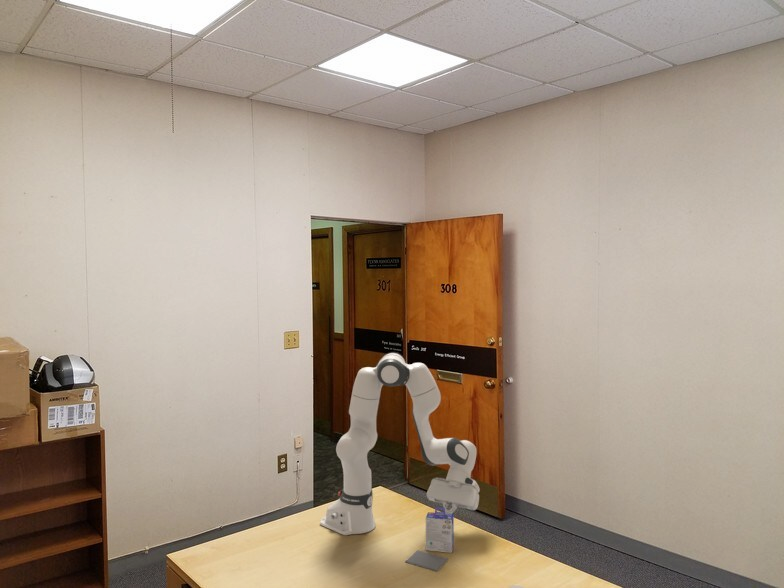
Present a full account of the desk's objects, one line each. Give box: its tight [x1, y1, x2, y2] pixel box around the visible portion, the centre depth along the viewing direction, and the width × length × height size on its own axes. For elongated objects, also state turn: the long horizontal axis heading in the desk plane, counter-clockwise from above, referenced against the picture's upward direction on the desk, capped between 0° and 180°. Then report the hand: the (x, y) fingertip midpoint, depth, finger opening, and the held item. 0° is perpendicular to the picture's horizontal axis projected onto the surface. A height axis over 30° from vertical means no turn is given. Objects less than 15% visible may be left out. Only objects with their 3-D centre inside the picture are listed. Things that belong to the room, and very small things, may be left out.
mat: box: [405, 549, 449, 572], centre depth 192 cm, size 12×9×1 cm
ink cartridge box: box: [425, 506, 455, 554], centre depth 201 cm, size 10×6×14 cm, turn 78°
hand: (446, 515), depth 206 cm, fingers closed
